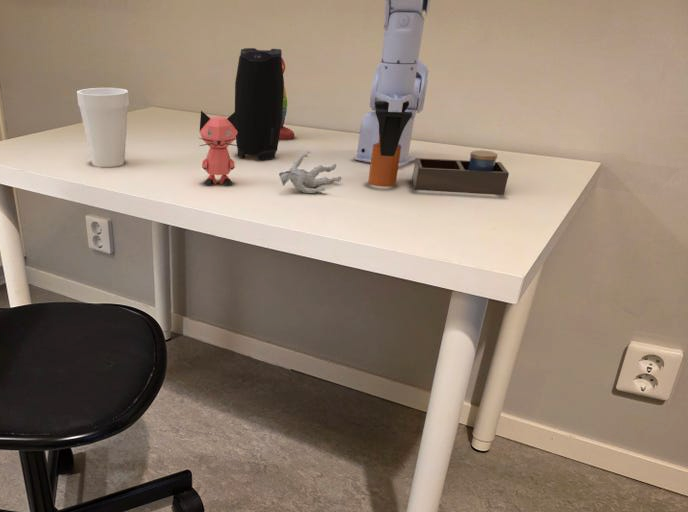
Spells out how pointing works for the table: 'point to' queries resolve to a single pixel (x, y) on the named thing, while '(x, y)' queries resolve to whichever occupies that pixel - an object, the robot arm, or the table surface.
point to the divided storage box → (458, 177)
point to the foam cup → (105, 124)
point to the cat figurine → (218, 146)
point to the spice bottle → (383, 167)
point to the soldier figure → (307, 177)
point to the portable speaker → (259, 102)
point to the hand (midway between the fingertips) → (386, 150)
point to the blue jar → (482, 160)
